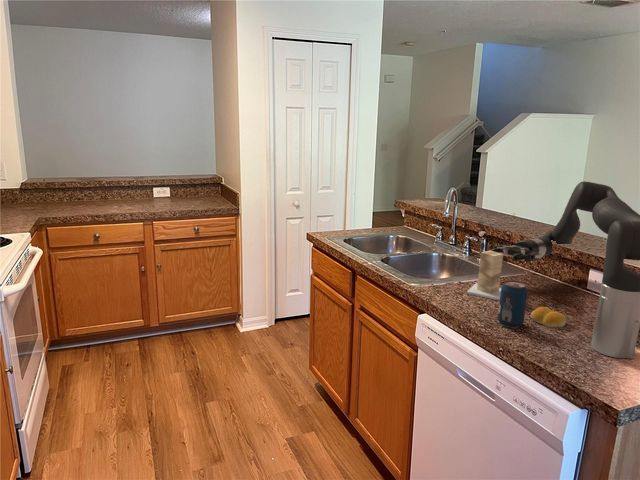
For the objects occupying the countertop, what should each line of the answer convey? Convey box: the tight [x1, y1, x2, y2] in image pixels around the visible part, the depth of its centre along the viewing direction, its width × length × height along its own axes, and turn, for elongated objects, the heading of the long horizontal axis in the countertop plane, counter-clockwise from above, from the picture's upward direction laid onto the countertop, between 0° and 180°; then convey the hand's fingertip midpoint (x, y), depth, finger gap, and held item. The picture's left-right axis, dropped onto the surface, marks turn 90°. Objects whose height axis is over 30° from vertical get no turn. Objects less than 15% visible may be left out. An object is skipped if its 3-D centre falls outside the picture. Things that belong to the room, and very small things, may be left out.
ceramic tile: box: [466, 282, 501, 302], centre depth 160 cm, size 11×11×1 cm
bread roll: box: [530, 306, 567, 328], centre depth 137 cm, size 8×9×4 cm
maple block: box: [477, 250, 504, 294], centre depth 158 cm, size 5×5×13 cm
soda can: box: [497, 280, 528, 329], centre depth 134 cm, size 7×7×12 cm
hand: (502, 255), depth 160 cm, fingers open, 8 cm apart
